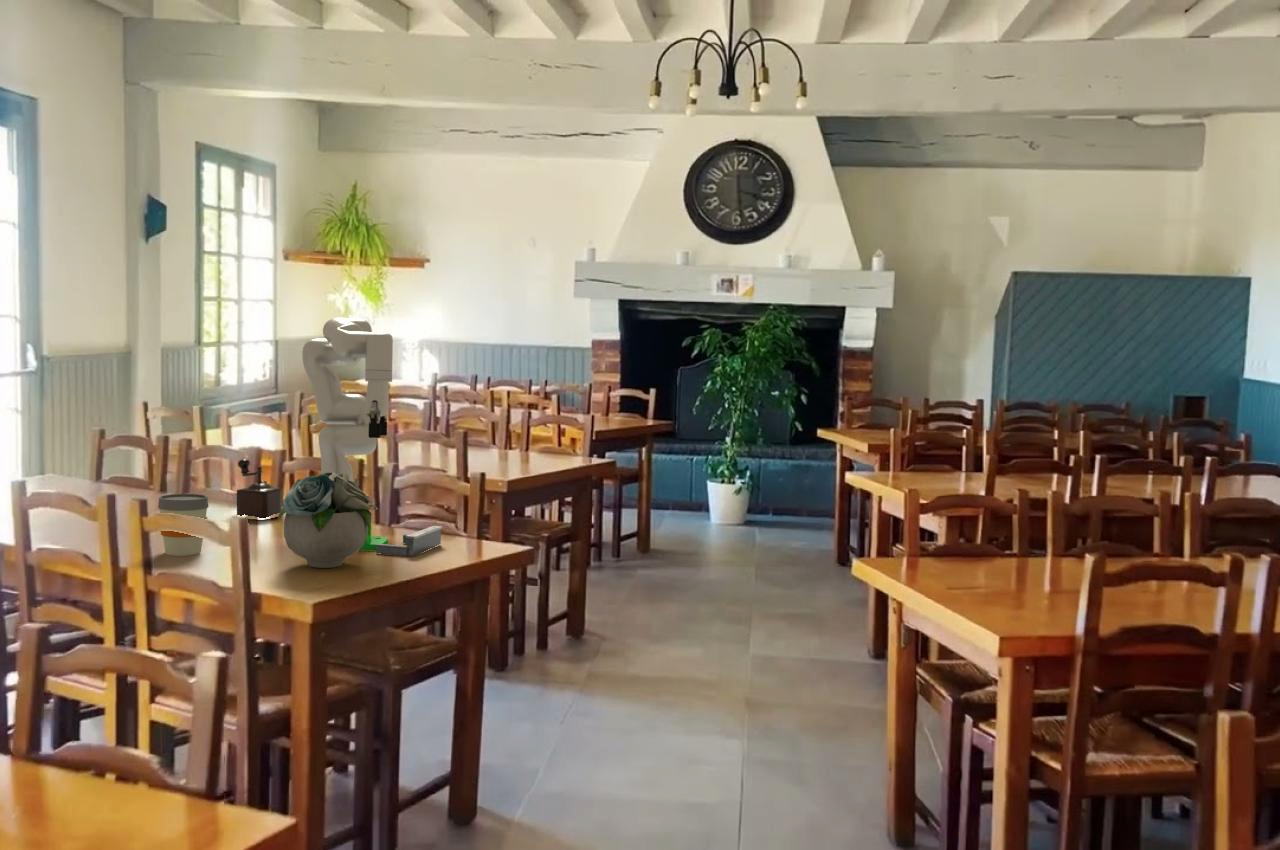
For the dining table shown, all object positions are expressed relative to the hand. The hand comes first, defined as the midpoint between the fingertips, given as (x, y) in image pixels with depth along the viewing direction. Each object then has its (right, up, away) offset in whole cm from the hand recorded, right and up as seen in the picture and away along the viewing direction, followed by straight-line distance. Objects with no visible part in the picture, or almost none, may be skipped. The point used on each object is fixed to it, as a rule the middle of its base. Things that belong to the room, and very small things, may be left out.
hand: (377, 436), depth 331 cm
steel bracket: (+10, -32, -4) cm, 34 cm away
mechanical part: (0, -32, -2) cm, 32 cm away
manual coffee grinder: (-49, -26, +41) cm, 69 cm away
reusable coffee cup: (-48, -31, -20) cm, 60 cm away
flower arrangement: (-7, -33, -30) cm, 45 cm away
